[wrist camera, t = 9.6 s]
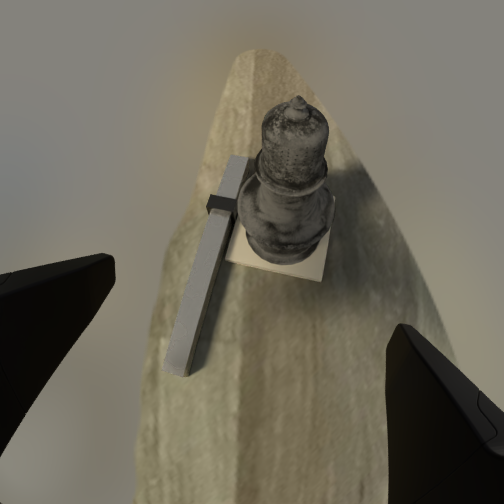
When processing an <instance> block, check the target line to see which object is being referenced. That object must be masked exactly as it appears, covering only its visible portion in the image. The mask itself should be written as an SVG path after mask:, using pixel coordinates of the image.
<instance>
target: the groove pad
mask: <svg viewBox="0 0 504 504" xmlns="http://www.w3.org/2000/svg"><path fill="white" fill-rule="evenodd" d="M333 198H334V203H335V196H333ZM330 229H331V227H330ZM330 229H329V231H328V232H327V233H326V234H325V235H324V236H323V238H322V239H321V240H320V242H319V244H318V246H317V248H316V250H315V251H314V252H313V253H312V254H311V255H310V257H308V258H306V259H305V260H303V261H302V262H299V263H296V264H293V265H277V264H272V263H269V262H267V261H265V260H263V259H261V258H260V257H259V256H258V255H257V254H256V253H254V251H253V250H252V248H251V247H250V245H249V244H248V241H247V238H246V229H245V228H244V227H243V225H242V224H241V221H240V218H239V215H238V216H237V220H236V223H235V226H234V230H233V233H232V236H231V240H230V243H229V246H228V250H227V253H226V257H225V261H228V262H232V263H237V264H241V265H245V266H250V267H254V268H259V269H263V270H267V271H272V272H276V273H281V274H285V275H290V276H294V277H299V278H303V279H308V280H312V281H317V282H321V281H322V276H323V271H324V265H325V259H326V254H327V248H328V242H329V236H330Z"/></svg>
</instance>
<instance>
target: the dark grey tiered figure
mask: <svg viewBox="0 0 504 504" xmlns="http://www.w3.org/2000/svg"><path fill="white" fill-rule="evenodd" d="M328 136H329V126H328V123H327V120H326V119H325V117H324V115H323V114H322V113H321V112H320V111H319V110H318V109H316V108H315V107H313V106H311V105H309V104H307V102H306V101H305V100H304V99H303V98H302V97H301V96H299V95H298V96H297V97H294V98H293V99H291V100H290V102H284V103H281V104H278V105H276V106H275V107H273V108H272V109H271V110H269V111H268V112H267V114H266V115H265V117H264V120H263V123H262V149H261V150H260V152H259V153H258V155H257V156H256V159H255V163H254V164H255V174H253V175H252V176H251V177H250V178H249V179H248V180H247V181H246V182H245V184H244V185H243V187H242V189H241V190H240V194H239V197H238V215H239V218H240V221H241V224H242V225H243V227H244V228H245V229H246V238H247V241H248V244H249V245H250V247H251V248H252V250H253V251H254V253H256V254H257V255H258V256H259V257H260V258H261V259H263V260H265V261H267V262H269V263H272V264H277V265H293V264H296V263H299V262H302V261H303V260H305V259H306V258H308V257H310V255H311V254H312V253H313V252H314V251H315V250H316V248H317V246H318V244H319V242H320V240H321V239H322V238H323V236H324V235H325V234H326V233H327V232H328V231H329V229H330V227H331V225H332V222H333V220H334V215H335V203H334V198H333V195H332V193H331V191H330V189H329V187H328V186H327V185H326V183H325V182H324V181H325V179H326V177H327V171H328V167H327V162H326V160H325V158H324V153H325V149H326V145H327V141H328Z"/></svg>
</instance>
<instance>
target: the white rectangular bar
mask: <svg viewBox="0 0 504 504" xmlns="http://www.w3.org/2000/svg"><path fill="white" fill-rule="evenodd" d="M248 171H249V158H248V157H242V156H236V155H230V158H229V161H228V163H227V166H226V169H225V172H224V174H223V177H222V180H221V183H220V186H219V189H218V191H217V194H216V195H211V194H210V197H209V200H208V203H207V206H206V208H207V211H208V214H209V217H208V220H207V223H206V226H205V229H204V232H203V235H202V238H201V241H200V244H199V247H198V250H197V254H196V257H195V260H194V263H193V266H192V269H191V272H190V275H189V279H188V282H187V285H186V288H185V291H184V295H183V298H182V301H181V305H180V308H179V311H178V315H177V318H176V321H175V325H174V328H173V332H172V335H171V339H170V342H169V346H168V349H167V353H166V356H165V360H164V364H163V367H162V371H165V372H168V373H171V374H175V375H178V376H181V377H188V375H189V372H190V368H191V364H192V361H193V357H194V353H195V350H196V346H197V343H198V339H199V335H200V332H201V328H202V325H203V321H204V318H205V314H206V311H207V307H208V304H209V300H210V297H211V293H212V290H213V286H214V283H215V280H216V276H217V273H218V269H219V266H220V263H221V259H222V256H223V252H224V249H225V246H226V242H227V239H228V236H229V233H230V229H231V226H232V224H235V223H236V220H237V216H238V197H239V194H240V190H241V189H242V187H243V185H244V184H245V181H246V178H247V174H248Z"/></svg>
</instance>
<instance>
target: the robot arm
mask: <svg viewBox="0 0 504 504" xmlns="http://www.w3.org/2000/svg"><path fill="white" fill-rule="evenodd" d="M115 279H116V277H115V260H114V257H113V256H112V255H108V254H105V253H99V254H94V255H90V256H85V257H80V258H75V259H70V260H65V261H61V262H56V263H52V264H46V265H42V266H37V267H33V268H28V269H23V270H19V271H15V272H13V273H11V272H10V273H6V274H1V275H0V457H1V455H2V453H3V451H4V450H5V448H6V446H7V444H8V443H9V441H10V440H11V437H12V436H13V435H14V433H15V431H16V430H17V428H18V426H19V425H20V423H21V422H22V420H23V418H24V417H25V415H26V414H25V413H27V412H28V410H29V409H30V407H31V406H32V404H33V403H34V401H35V400H36V398H37V397H38V395H39V394H40V392H41V391H42V389H43V388H44V386H45V385H46V383H47V382H48V380H49V379H50V377H51V376H52V374H53V373H54V372H55V370H56V369H57V367H58V366H59V364H60V363H61V361H62V360H63V359H64V357H65V356H66V354H67V353H68V352H69V350H70V349H71V348H72V346H73V345H74V344H75V342H76V341H77V340H78V338H79V337H80V336H81V334H82V333H83V331H84V330H85V329H86V328H87V326H88V325H89V323H90V322H91V321H92V319H93V318H94V316H95V315H96V313H97V312H98V310H99V308H100V307H101V305H102V303H103V302H104V300H105V299H106V297H107V296H108V294H109V292H110V290H111V289H112V288H113V286H114V284H115ZM385 398H386V413H387V431H388V466H389V484H388V504H504V412H503V411H501V409H499V408H498V407H497V406H496V405H495V404H494V403H493V402H492V401H491V400H490V399H489V398H488V397H487V396H486V395H485V394H484V393H483V392H482V391H479V388H478V387H477V386H476V385H475V384H473V383H472V382H471V381H470V380H469V379H468V378H467V377H466V376H465V375H464V374H463V373H462V372H461V371H460V370H459V369H458V368H457V367H456V366H455V365H454V364H453V363H451V362H450V361H449V360H448V359H447V358H446V357H445V356H444V355H443V354H442V353H441V352H440V351H439V350H438V349H436V348H435V347H434V346H433V345H432V344H431V343H430V342H429V341H428V340H427V339H426V338H424V337H423V336H422V335H421V334H420V333H419V332H418V331H417V330H416V329H415V328H413V327H412V326H411V325H407V324H402V323H400V324H398V325H397V326H396V328H395V330H394V332H393V334H392V337H391V339H390V341H389V343H388V345H387V348H386V381H385ZM0 504H2V503H0Z"/></svg>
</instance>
